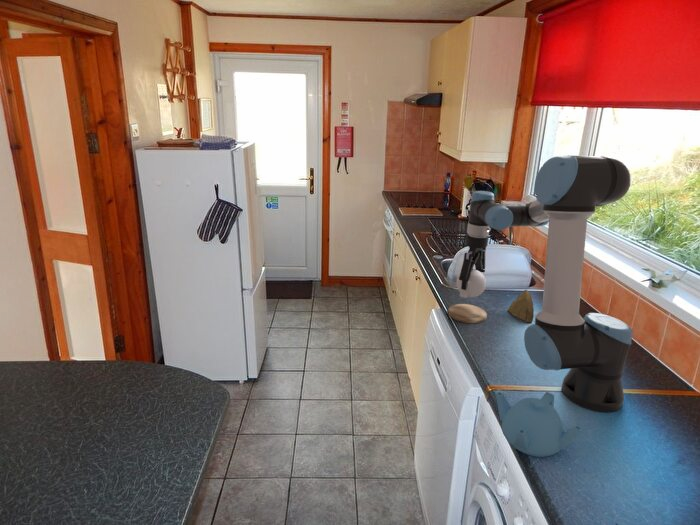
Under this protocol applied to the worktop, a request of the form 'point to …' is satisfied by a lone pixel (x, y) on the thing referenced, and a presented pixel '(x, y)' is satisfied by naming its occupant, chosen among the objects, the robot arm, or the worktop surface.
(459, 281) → the ornament
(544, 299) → the robot arm
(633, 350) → the worktop surface
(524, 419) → the teapot
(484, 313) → the trivet
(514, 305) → the rock
